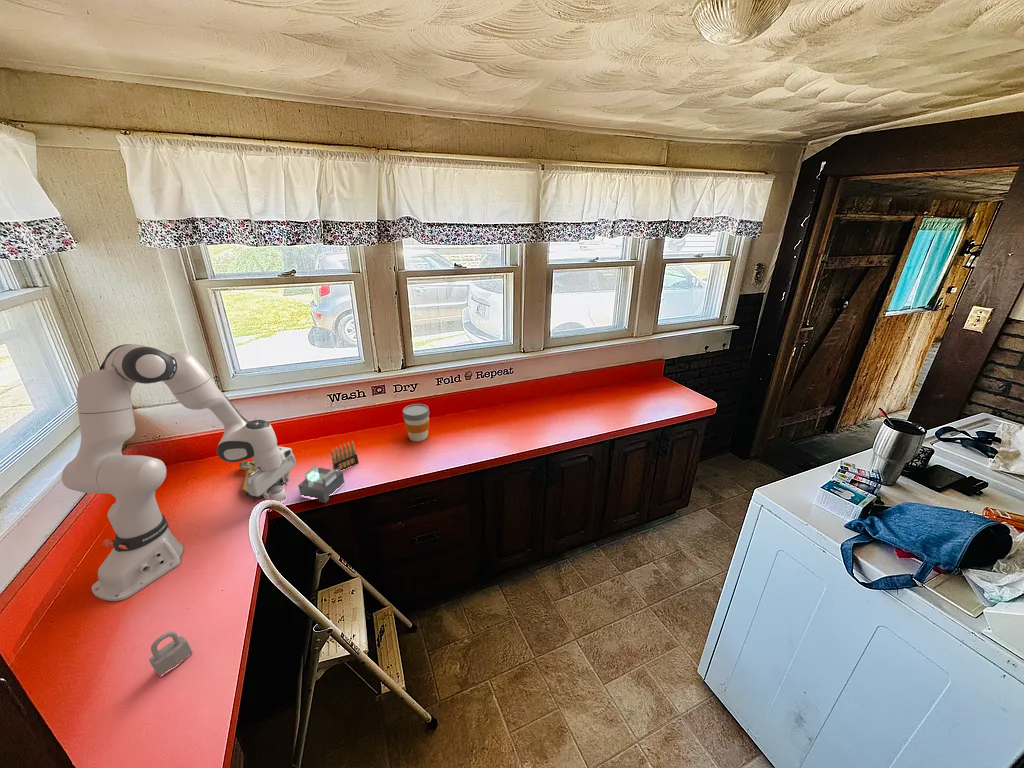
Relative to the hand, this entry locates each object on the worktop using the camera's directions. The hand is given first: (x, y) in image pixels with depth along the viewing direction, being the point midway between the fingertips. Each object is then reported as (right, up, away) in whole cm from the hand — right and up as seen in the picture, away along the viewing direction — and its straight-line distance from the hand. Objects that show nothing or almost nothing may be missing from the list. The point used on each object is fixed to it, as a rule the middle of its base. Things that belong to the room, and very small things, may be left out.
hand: (277, 489), depth 158 cm
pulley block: (-14, 0, +12) cm, 19 cm away
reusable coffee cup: (+44, +15, +45) cm, 65 cm away
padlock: (+5, -30, -54) cm, 62 cm away
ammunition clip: (+18, +4, +21) cm, 28 cm away
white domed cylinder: (+1, -5, +1) cm, 5 cm away
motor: (+15, -1, +8) cm, 17 cm away
